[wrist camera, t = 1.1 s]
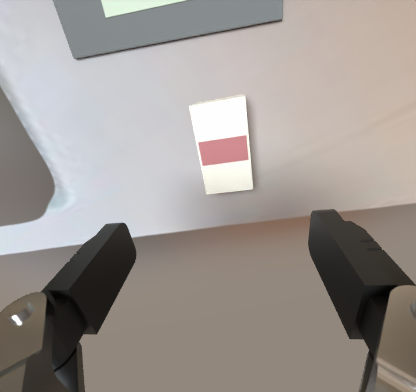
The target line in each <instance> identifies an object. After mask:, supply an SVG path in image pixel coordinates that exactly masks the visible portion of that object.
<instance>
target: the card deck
mask: <svg viewBox="0 0 416 392" xmlns="http://www.w3.org/2000/svg"><path fill="white" fill-rule="evenodd" d="M189 109H190V114H191V119H192V124H193V129H194V134H195V139H196V144H197V149H198V154H199V159H200V164H201V169H202V175H203V180H204V185H205V190H206V195H207V194H216V193H225V192H234V191H243V190H252V189H253V182H252V170H251V158H250V146H249V135H248V123H247V111H246V99H245V95H243V94H240V95H235V96H230V97H224V98H219V99H213V100H208V101H202V102H197V103H194V104H192V105H190V106H189Z"/></svg>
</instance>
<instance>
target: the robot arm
mask: <svg viewBox="0 0 416 392" xmlns="http://www.w3.org/2000/svg"><path fill="white" fill-rule="evenodd" d="M308 241H309V242H308V245H309V251H310V255H311V258H312V260H313V262H314V264H315V266H316V268H317V270H318V272H319V274H320V277H321V279H322V281H323V283H324V285H325V287H326V290H327V292H328V294H329V296H330V298H331V300H332V302H333V304H334V306H335V309H336V311H337V313H338V315H339V317H340V319H341V322H342V324H343V326H344V328H345V330H346V332H347V334H348V336H349V339H364V341H365V343H366V345H367V346H368V348H369V352H368V354H367V359H366V363H365V367H364V371H363V375H362V380H361V384H360V388H359V392H416V285H415V284H414V283H413V282H412V280H410V278H409V277H408V276H407V275H406V274H405V273H404V272H403V271H402V270H401V268H399V266H398V265H397V264H396V263H395V262H394V261H393V260H392V259H391V258H390V256H388V255H387V253H386V252H385V251H384V250H382V249H381V247H380V246H379V245H378V243H377V242H376V241H374V239H373V238H372V237H371V236H370V235H369V234H368V233H367V231H366V230H365V229H363V228H361V227H360V226H358V225H356V224H355V223H353V222H351V221H346V222H345V221H344V220H343V219H342V218H341V216H340V215H339V214H338V213H337V212H336V211H335V210H334V209H331V210H316V211H312V213H311V221H310V231H309V240H308ZM135 259H136V249H135V246H134V243H133V241H132V238H131V235H130V233H129V230H128V227H127V225H126V224H125V223H112V224H106V225H105V226H104V227H103V228H102V229H101V230H100V231H99V232H98V233H97V235H96V236H94V237H93V238H91V239H90V240H89V241H87V242H86V243H84V245H83V246H82V247H81V248H80V249H79V250H78V251H77V254H75V255H74V256H73V257H72V258H71V259H70V262H67V263H66V264H65V266H64V267H63V268H62V269H61V270H60V271H59V272H58V273H57V274H56V276H55V277H54V278H53V279H52V280H51V281H50V282H49V283H48V285H47V286H46V287H45V288H44V289H43V290H42V291H41V292H34V293H30V294H27V295H25V296H22V297H21V298H19V299H17V300H15V301H13V302H12V303H10V304H9V305H8V306H7V307H5V308H4V309H3V310H2V311H1V312H0V392H85V385H84V370H83V357H82V346H81V344H80V342H79V341H80V339H81V337H82V336H83V334H97V333H98V331H99V329H100V327H101V326H102V324H103V322H104V320H105V318H106V316H107V314H108V312H109V310H110V308H111V306H112V305H113V303H114V301H115V299H116V297H117V295H118V293H119V291H120V289H121V288H122V286H123V284H124V282H125V280H126V278H127V276H128V274H129V272H130V270H131V269H132V267H133V265H134V263H135Z"/></svg>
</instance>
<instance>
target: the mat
mask: <svg viewBox="0 0 416 392" xmlns="http://www.w3.org/2000/svg"><path fill="white" fill-rule="evenodd" d="M53 2H54V5H55V8H56V11H57V13H58V16H59V19H60V22H61V24H62V27H63V30H64V33H65V36H66V38H67V41H68V44H69V47H70V50H71V52H72V55H73V58H74V59H79V58H84V57H90V56H95V55H100V54H105V53H111V52H116V51H121V50H126V49H132V48H137V47H142V46H147V45H153V44H158V43H163V42H168V41H174V40H179V39H184V38H189V37H195V36H200V35H205V34H210V33H216V32H221V31H226V30H231V29H237V28H242V27H247V26H252V25H258V24H263V23H268V22H273V21H279V20H282V12H283V0H53Z"/></svg>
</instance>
